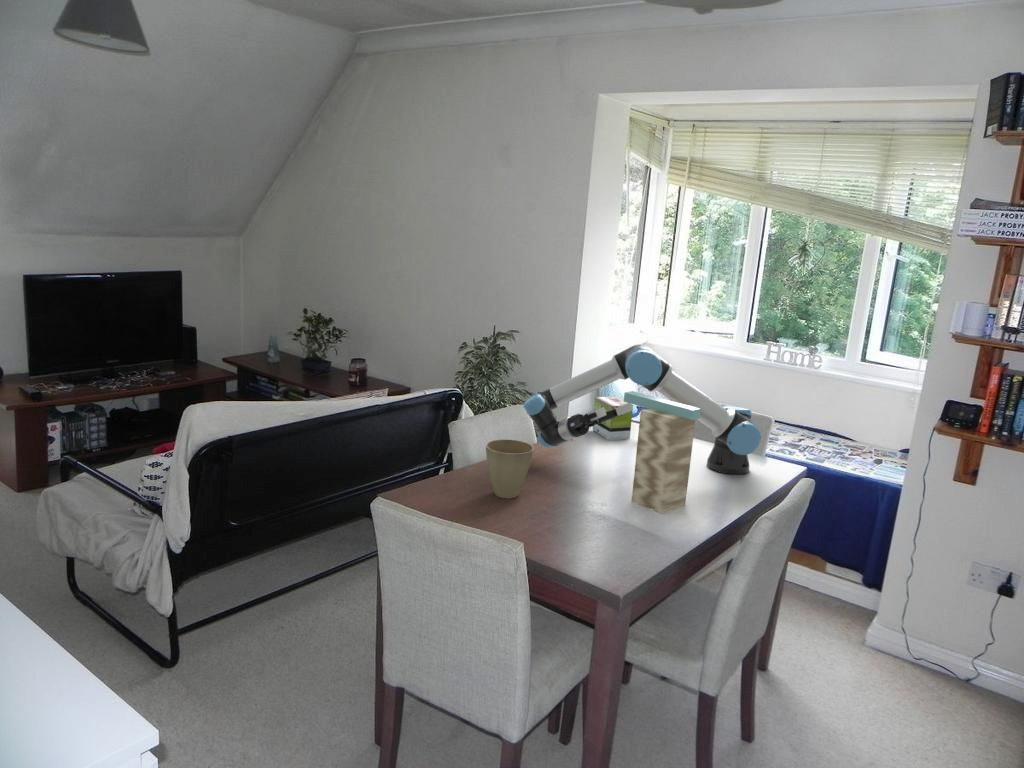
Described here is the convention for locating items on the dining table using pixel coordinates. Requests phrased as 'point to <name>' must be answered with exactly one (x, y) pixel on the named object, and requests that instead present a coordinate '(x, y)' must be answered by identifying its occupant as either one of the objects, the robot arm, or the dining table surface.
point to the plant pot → (508, 465)
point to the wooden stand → (662, 460)
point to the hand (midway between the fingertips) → (618, 408)
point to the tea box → (616, 426)
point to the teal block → (662, 405)
